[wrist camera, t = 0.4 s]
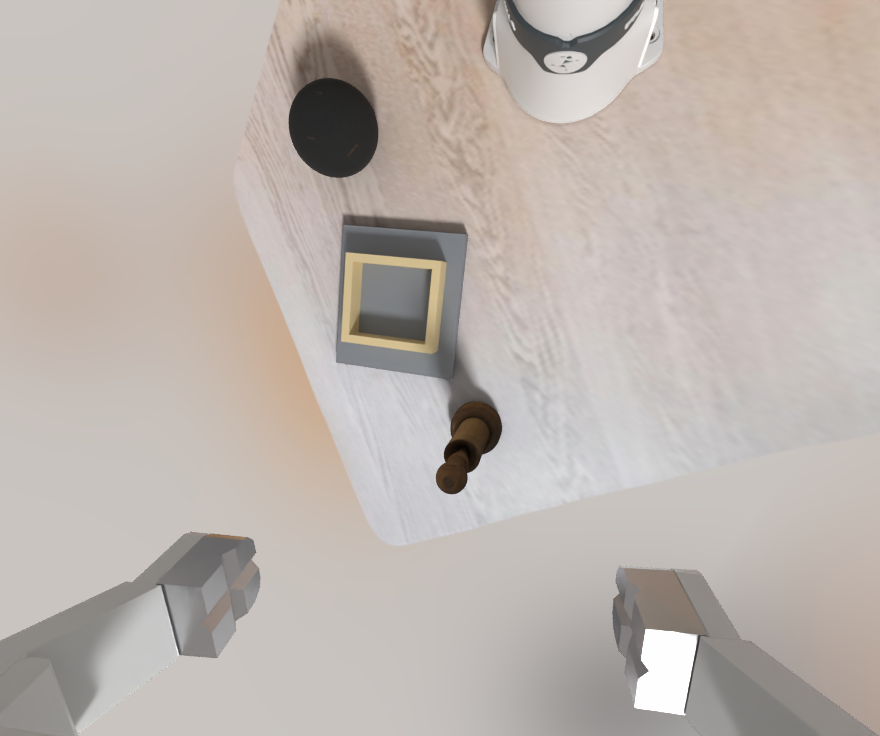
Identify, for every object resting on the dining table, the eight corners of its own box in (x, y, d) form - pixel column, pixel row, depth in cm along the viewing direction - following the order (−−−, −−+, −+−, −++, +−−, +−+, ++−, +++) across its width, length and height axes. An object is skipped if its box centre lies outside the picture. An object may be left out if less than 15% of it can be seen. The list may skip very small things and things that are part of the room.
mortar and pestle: (444, 413, 58) (402, 465, 41) (487, 393, 56) (462, 438, 39) (467, 456, 58) (435, 526, 41) (510, 438, 56) (496, 503, 39)
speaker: (386, 189, 55) (352, 167, 45) (314, 183, 57) (268, 161, 47) (394, 102, 53) (360, 61, 43) (319, 99, 55) (272, 59, 45)
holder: (348, 226, 57) (332, 221, 52) (468, 235, 53) (461, 231, 49) (341, 360, 60) (325, 366, 56) (452, 377, 57) (445, 384, 53)
